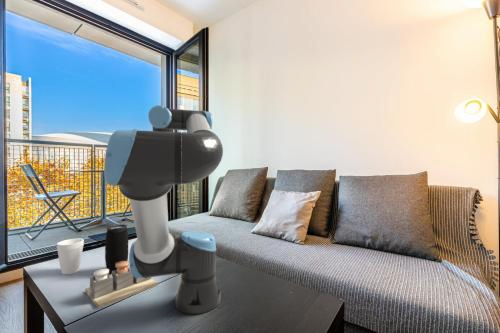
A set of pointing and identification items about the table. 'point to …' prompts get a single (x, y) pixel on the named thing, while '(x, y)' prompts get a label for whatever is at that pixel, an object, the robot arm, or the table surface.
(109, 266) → the portable speaker
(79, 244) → the foam cup
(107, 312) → the table surface
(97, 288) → the board
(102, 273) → the plunger cream
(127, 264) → the plunger terracotta
